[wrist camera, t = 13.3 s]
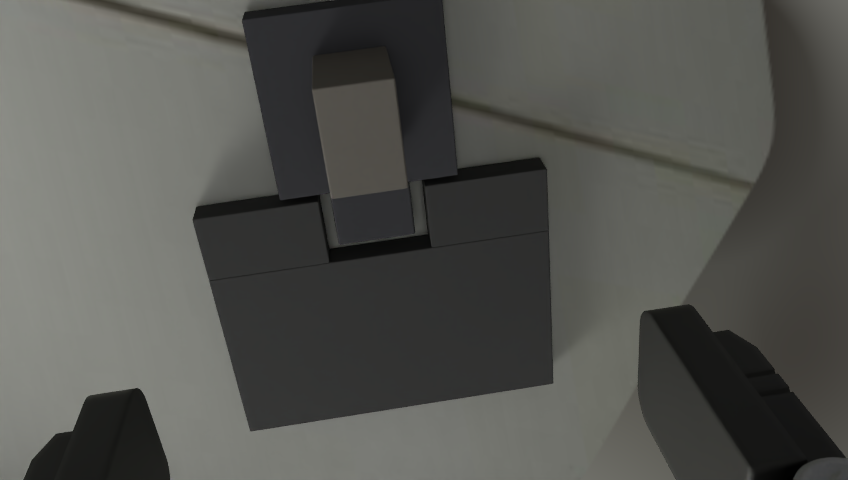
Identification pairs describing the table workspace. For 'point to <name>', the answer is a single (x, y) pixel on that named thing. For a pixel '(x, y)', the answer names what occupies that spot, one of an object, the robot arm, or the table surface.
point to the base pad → (384, 299)
